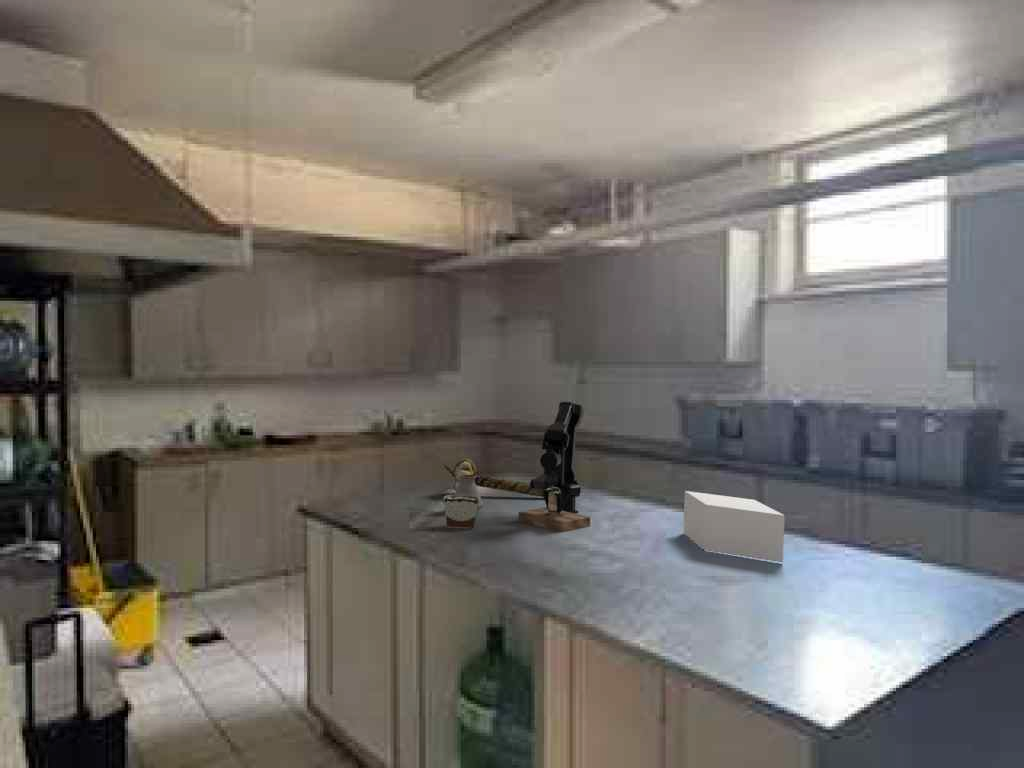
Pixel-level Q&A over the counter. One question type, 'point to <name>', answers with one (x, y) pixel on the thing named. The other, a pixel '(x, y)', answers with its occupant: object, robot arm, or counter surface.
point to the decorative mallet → (490, 480)
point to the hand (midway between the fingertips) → (554, 511)
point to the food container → (460, 510)
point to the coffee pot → (467, 486)
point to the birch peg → (552, 505)
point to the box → (734, 526)
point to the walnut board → (554, 520)
